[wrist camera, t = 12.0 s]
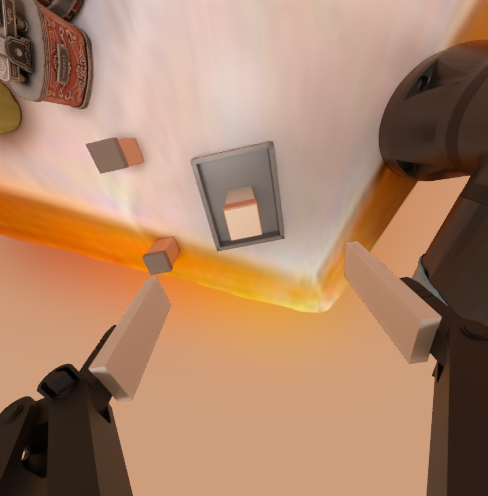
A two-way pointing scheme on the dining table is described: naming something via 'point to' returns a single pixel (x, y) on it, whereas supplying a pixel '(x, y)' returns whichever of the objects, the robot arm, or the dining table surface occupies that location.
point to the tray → (235, 176)
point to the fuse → (242, 213)
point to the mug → (62, 7)
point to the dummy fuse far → (161, 256)
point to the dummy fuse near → (115, 154)
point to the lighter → (44, 55)
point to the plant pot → (8, 111)
